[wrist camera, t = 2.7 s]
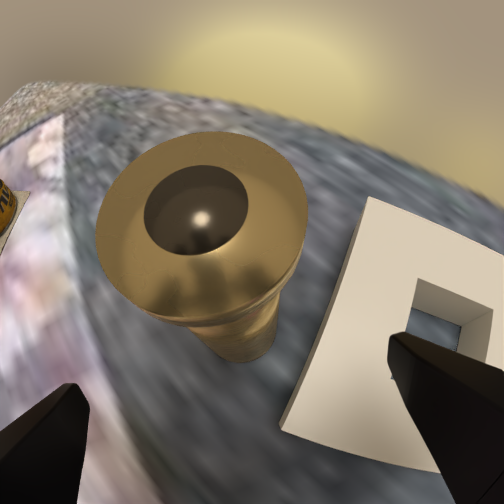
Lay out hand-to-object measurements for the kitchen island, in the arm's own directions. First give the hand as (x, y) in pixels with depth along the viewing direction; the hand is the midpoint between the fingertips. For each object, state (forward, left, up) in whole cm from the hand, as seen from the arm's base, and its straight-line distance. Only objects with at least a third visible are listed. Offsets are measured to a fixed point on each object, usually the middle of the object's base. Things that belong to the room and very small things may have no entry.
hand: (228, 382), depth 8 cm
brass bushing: (+3, +2, -11) cm, 11 cm away
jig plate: (+6, -9, -11) cm, 15 cm away
